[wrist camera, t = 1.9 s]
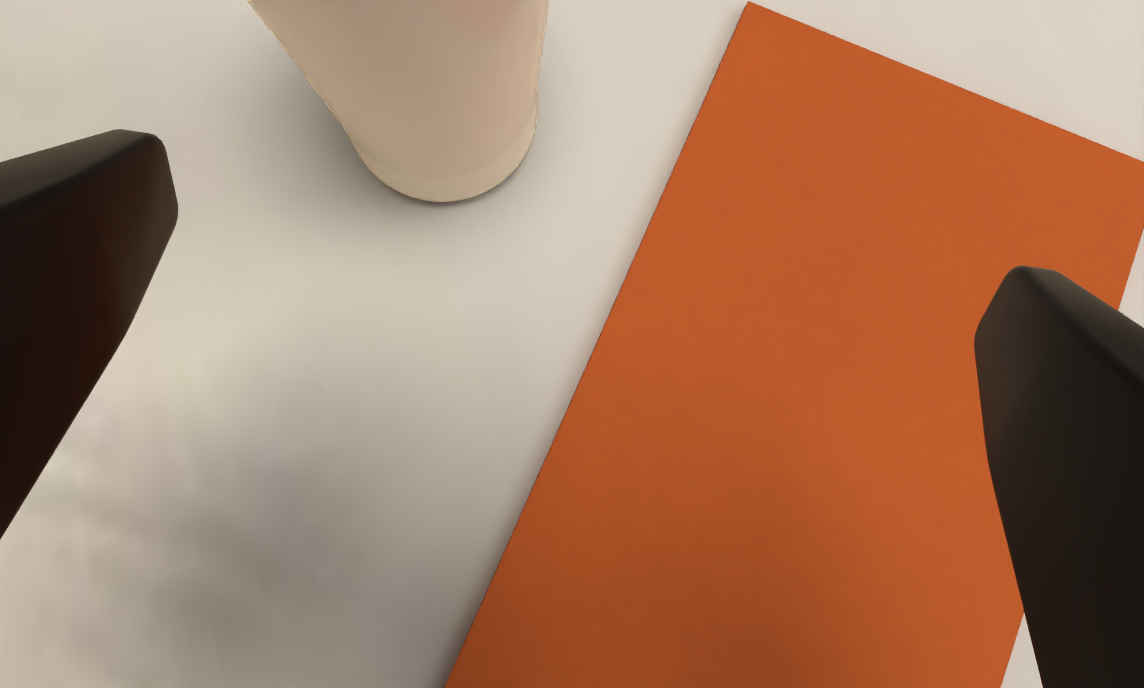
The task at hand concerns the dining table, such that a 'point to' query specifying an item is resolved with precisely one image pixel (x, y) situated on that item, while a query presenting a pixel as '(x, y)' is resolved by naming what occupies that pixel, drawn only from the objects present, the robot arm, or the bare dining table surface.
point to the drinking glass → (422, 83)
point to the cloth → (802, 391)
